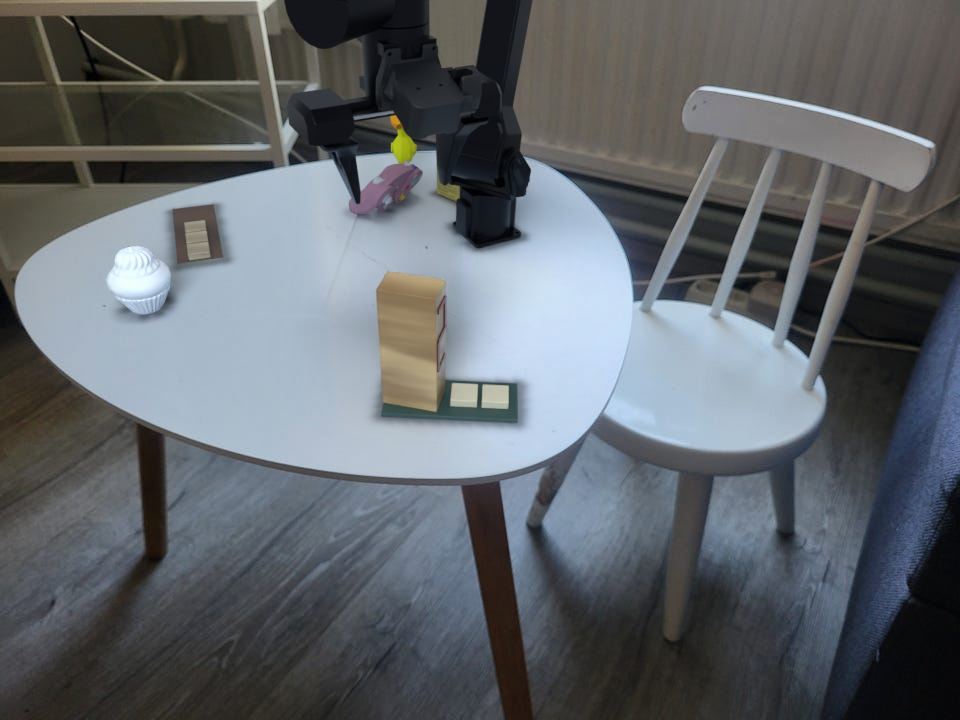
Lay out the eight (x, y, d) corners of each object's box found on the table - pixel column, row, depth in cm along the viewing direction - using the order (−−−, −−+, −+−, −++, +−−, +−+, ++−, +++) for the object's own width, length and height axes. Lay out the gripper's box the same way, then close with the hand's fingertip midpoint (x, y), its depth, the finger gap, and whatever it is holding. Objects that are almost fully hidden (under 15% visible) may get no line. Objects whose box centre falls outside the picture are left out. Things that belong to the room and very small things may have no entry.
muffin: (149, 284, 81) (133, 227, 77) (191, 300, 79) (177, 242, 75) (102, 312, 77) (82, 252, 73) (145, 330, 75) (127, 270, 70)
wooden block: (393, 381, 69) (387, 270, 62) (446, 391, 68) (447, 279, 61) (382, 402, 67) (375, 289, 59) (437, 412, 66) (437, 299, 59)
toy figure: (410, 185, 103) (408, 98, 96) (385, 182, 103) (380, 95, 96) (420, 165, 108) (418, 81, 101) (396, 163, 108) (393, 79, 101)
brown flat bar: (173, 211, 95) (170, 203, 94) (214, 206, 96) (212, 198, 95) (178, 266, 84) (175, 257, 84) (223, 260, 86) (222, 251, 85)
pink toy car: (369, 232, 95) (386, 193, 90) (343, 209, 96) (359, 169, 90) (414, 203, 102) (433, 166, 97) (390, 182, 102) (407, 143, 97)
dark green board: (381, 416, 66) (380, 406, 65) (388, 380, 70) (388, 370, 69) (516, 423, 66) (517, 413, 65) (516, 386, 70) (517, 376, 69)
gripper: (323, 60, 53) (341, 252, 63) (541, 32, 61) (527, 207, 70) (274, 22, 60) (296, 199, 70) (474, 1, 68) (469, 164, 78)
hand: (401, 193), depth 72 cm, fingers open, 9 cm apart
